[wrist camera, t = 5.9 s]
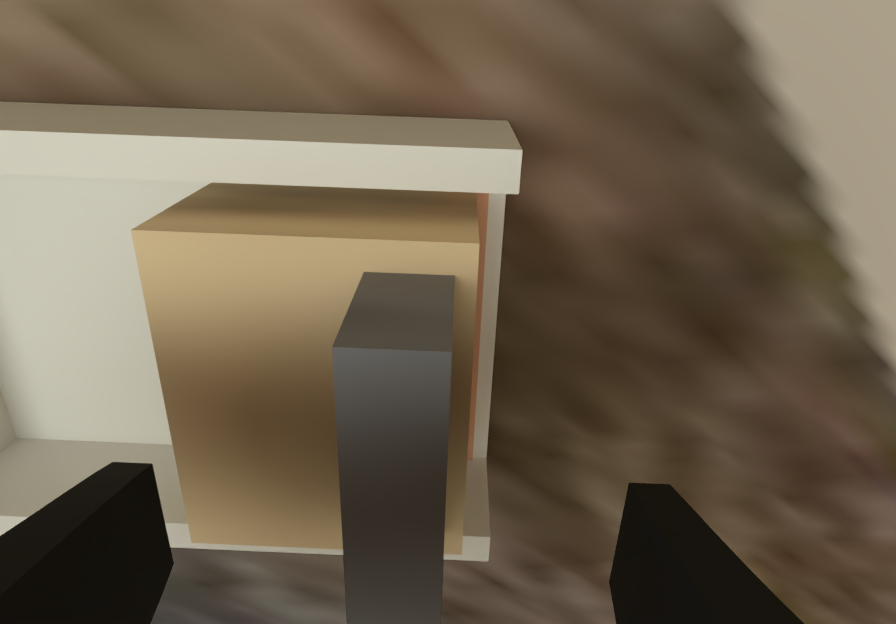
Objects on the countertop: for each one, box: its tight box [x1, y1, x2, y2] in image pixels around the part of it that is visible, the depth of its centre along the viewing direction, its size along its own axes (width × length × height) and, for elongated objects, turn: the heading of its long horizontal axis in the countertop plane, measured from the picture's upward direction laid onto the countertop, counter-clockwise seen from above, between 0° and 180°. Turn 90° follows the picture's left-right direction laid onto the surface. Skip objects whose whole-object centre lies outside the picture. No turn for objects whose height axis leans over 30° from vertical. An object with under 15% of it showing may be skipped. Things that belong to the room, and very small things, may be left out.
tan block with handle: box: [131, 182, 480, 624], centre depth 12 cm, size 7×6×7 cm
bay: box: [0, 102, 522, 561], centre depth 15 cm, size 10×14×4 cm
